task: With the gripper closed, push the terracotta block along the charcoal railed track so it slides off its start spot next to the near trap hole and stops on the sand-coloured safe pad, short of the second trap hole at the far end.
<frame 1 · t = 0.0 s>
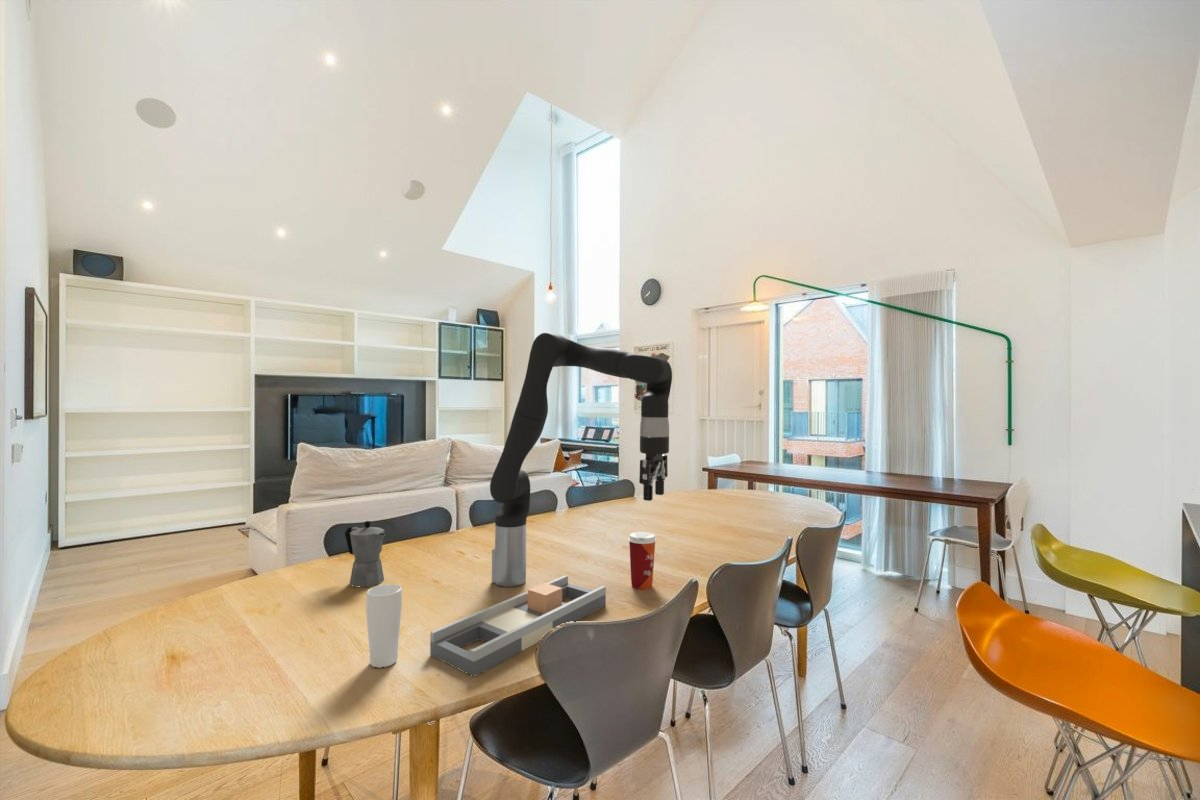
hand: (653, 497, 133), 29 cm above the table, tool pointing down, fingers open, 8 cm apart
coffee cup: (641, 586, 150), on the table
drinking glass: (383, 663, 106), on the table
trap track: (527, 627, 122), on the table
coffeepot: (364, 582, 152), on the table
block: (544, 606, 127), point 3 cm above the table, touching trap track
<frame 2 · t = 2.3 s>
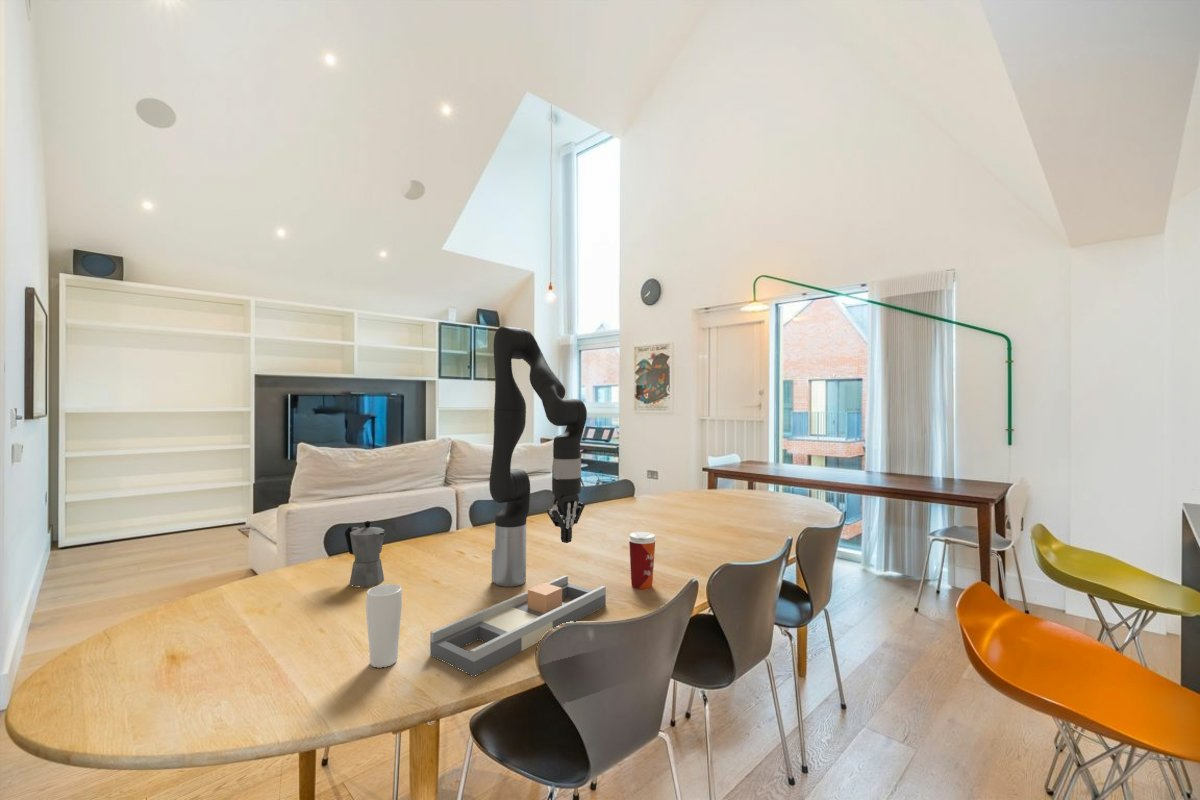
hand: (566, 542, 133), 17 cm above the table, tool pointing down, fingers closed
nothing on the table moved.
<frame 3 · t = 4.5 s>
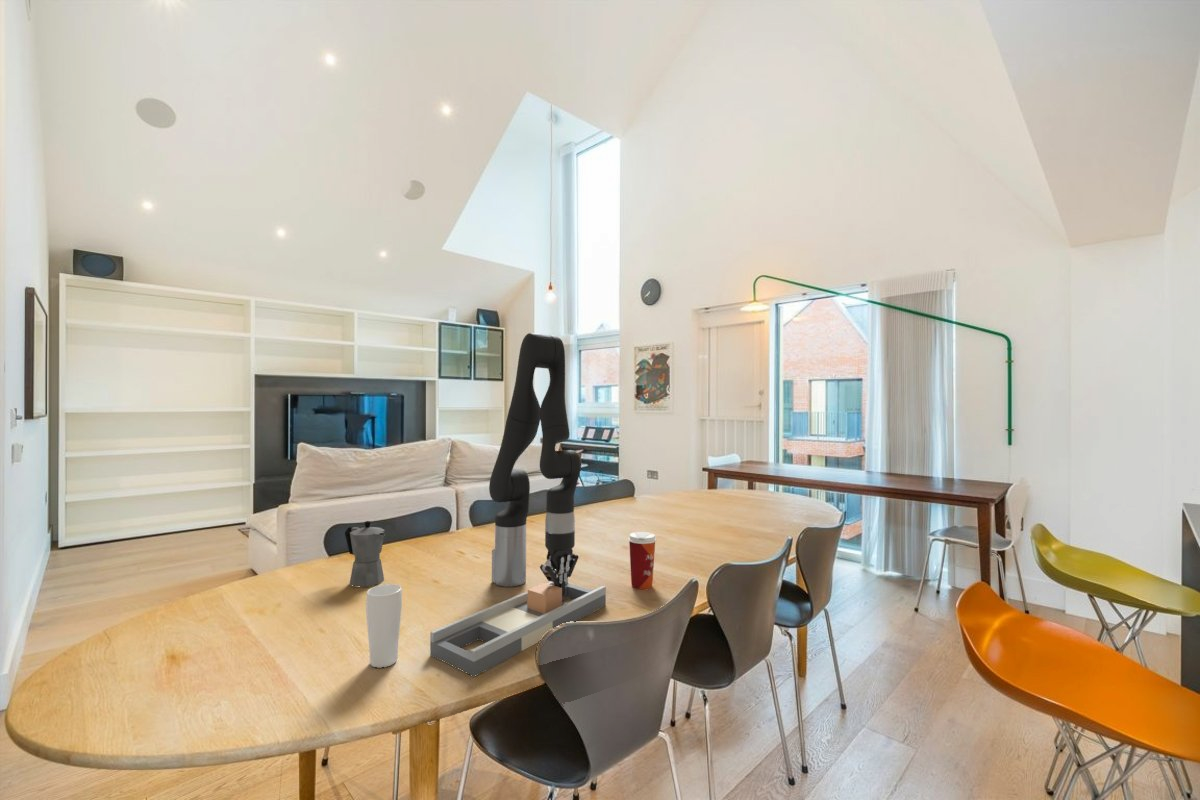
hand: (559, 596, 131), 4 cm above the table, tool pointing down, fingers closed
block: (544, 607, 127), point 3 cm above the table, touching gripper
everything else where it was.
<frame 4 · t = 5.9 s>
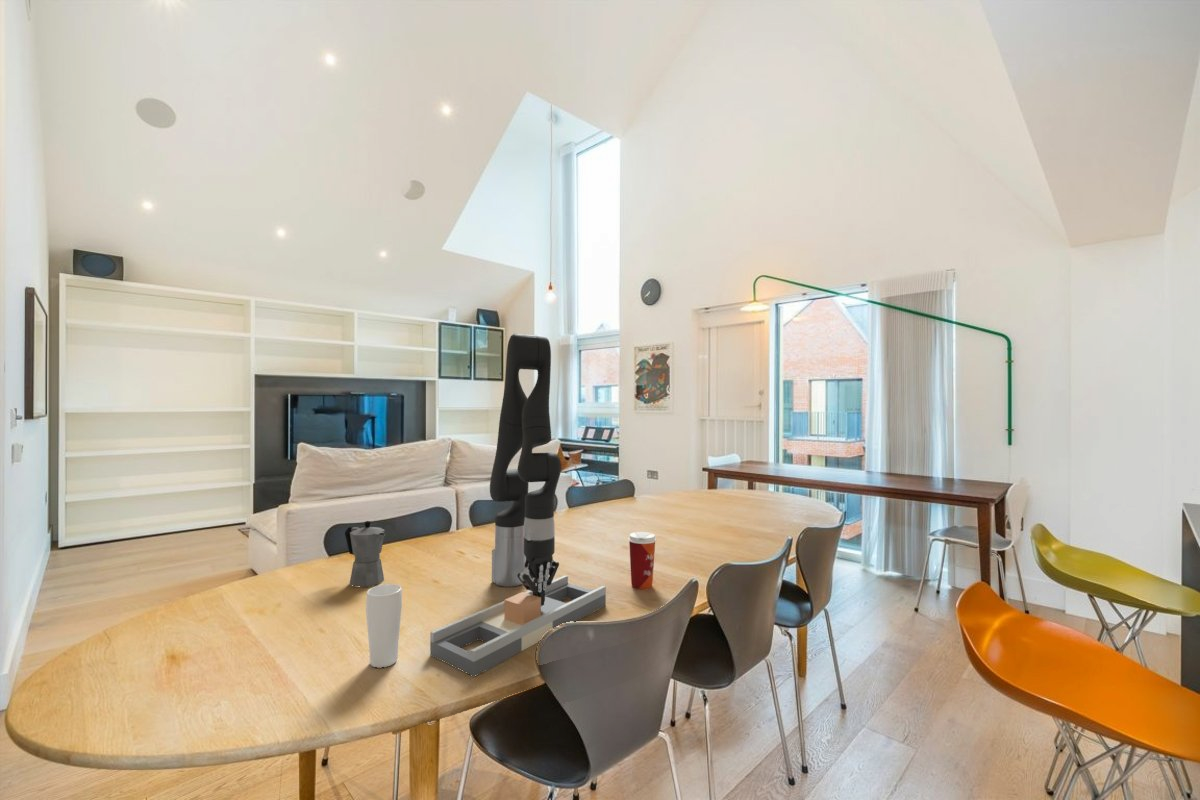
hand: (538, 605, 125), 4 cm above the table, tool pointing down, fingers closed
block: (522, 617, 121), point 3 cm above the table, touching gripper, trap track
everything else where it was.
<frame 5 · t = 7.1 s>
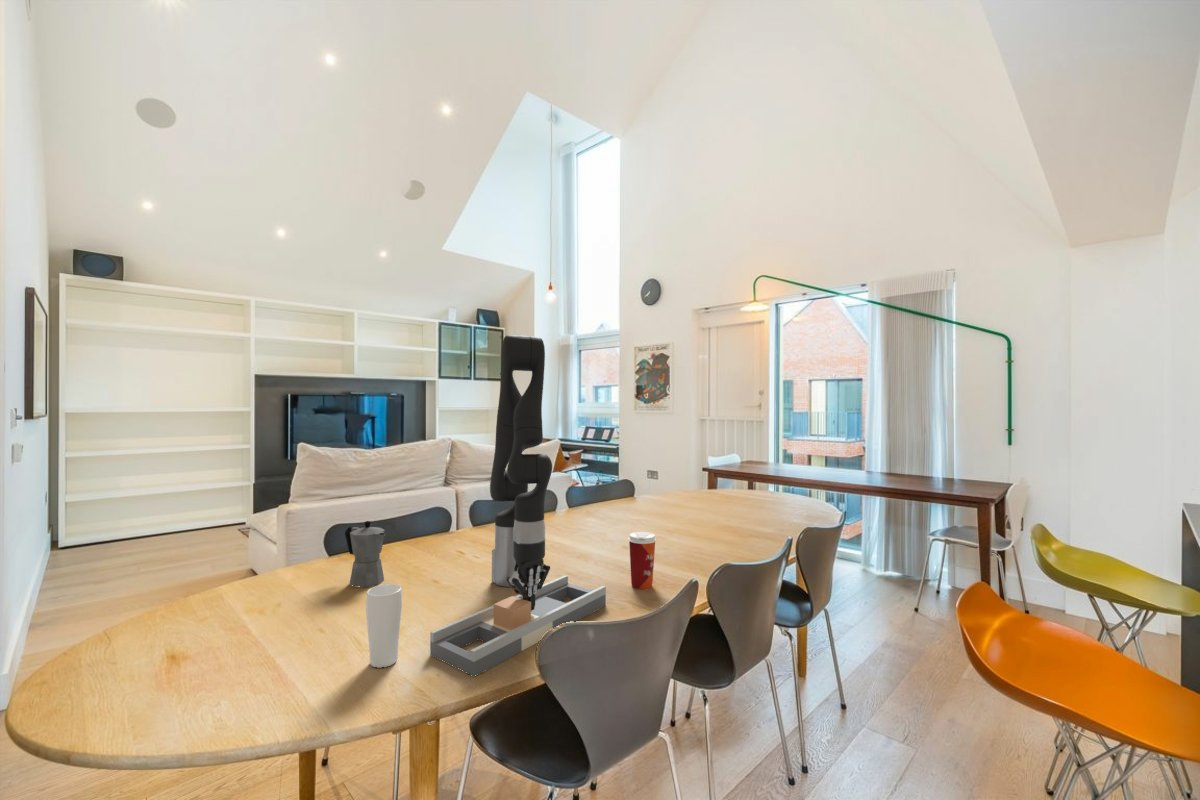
hand: (528, 610, 123), 4 cm above the table, tool pointing down, fingers closed
block: (512, 622, 118), point 3 cm above the table, touching gripper, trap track
everything else where it was.
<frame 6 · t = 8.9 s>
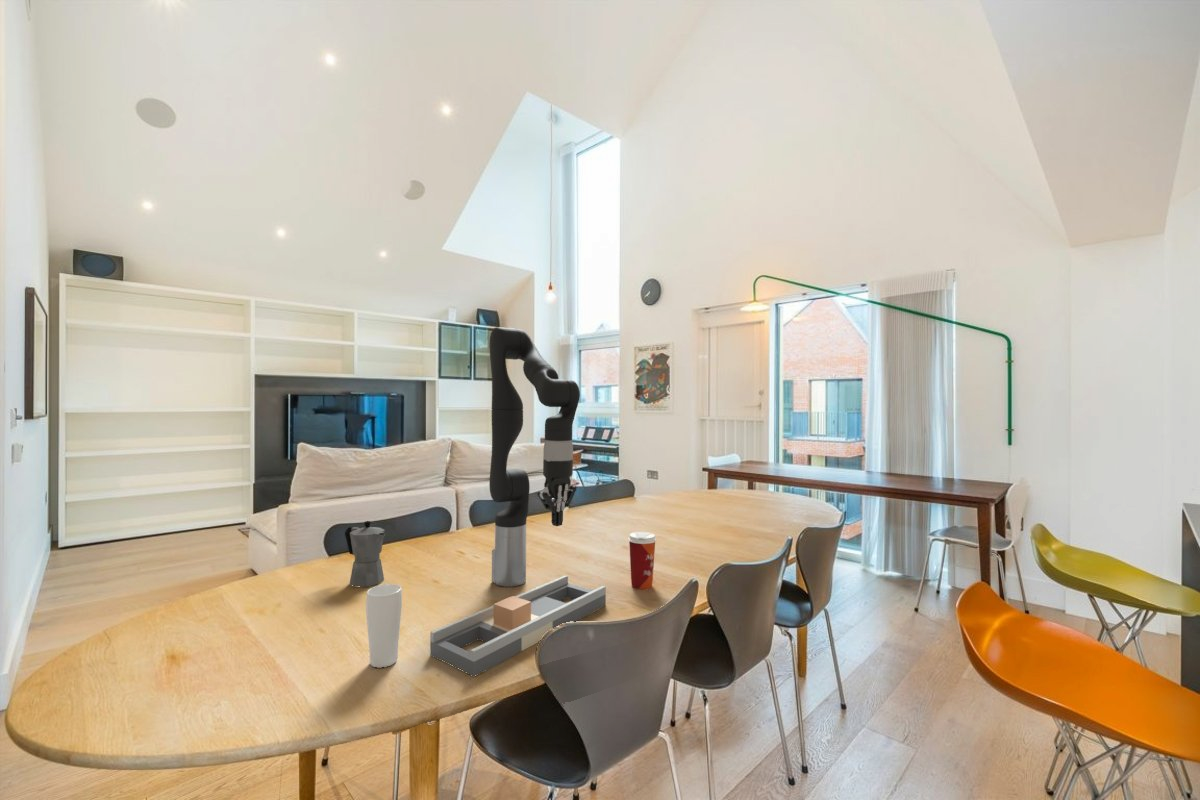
hand: (557, 525, 131), 22 cm above the table, tool pointing down, fingers closed
block: (512, 622, 118), point 3 cm above the table, touching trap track
everything else where it was.
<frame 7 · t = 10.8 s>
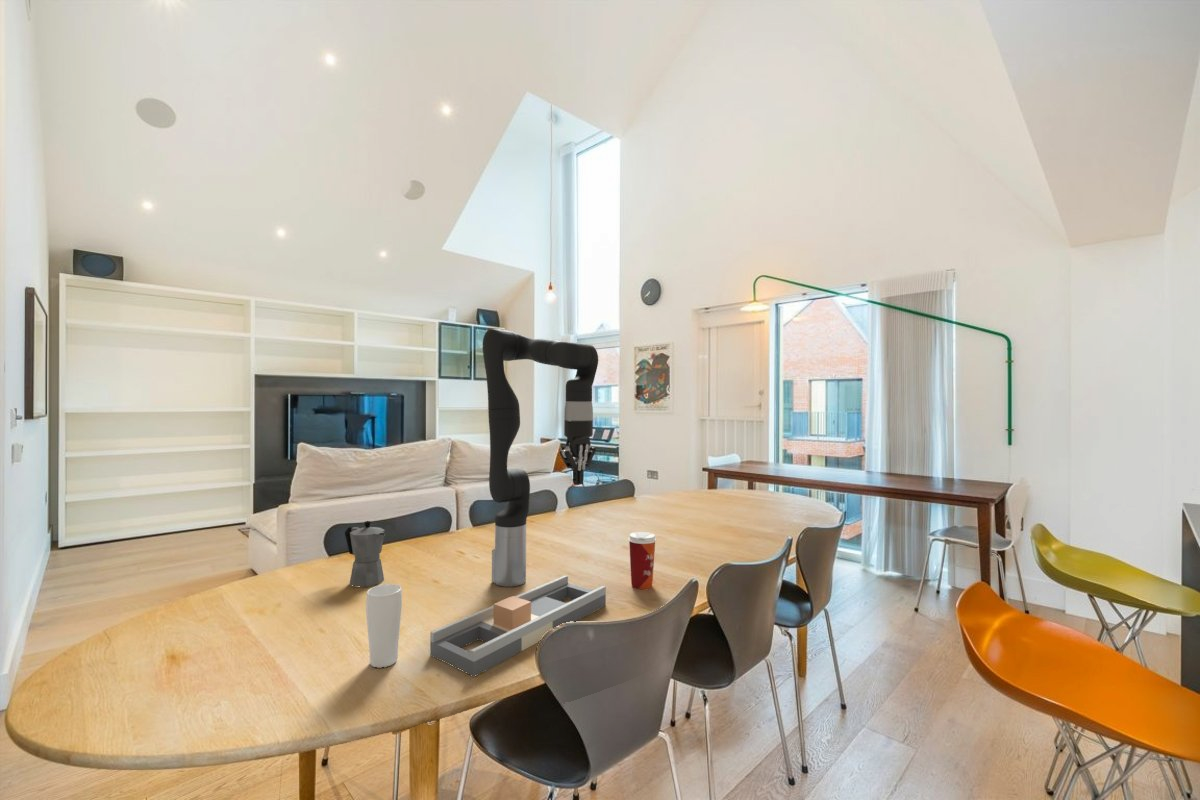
hand: (578, 484, 136), 32 cm above the table, tool pointing down, fingers closed
nothing on the table moved.
at the end: block inside the target area (1.3 cm from its centre), point 3.0 cm above the table; block touching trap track; block tilted 0° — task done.
